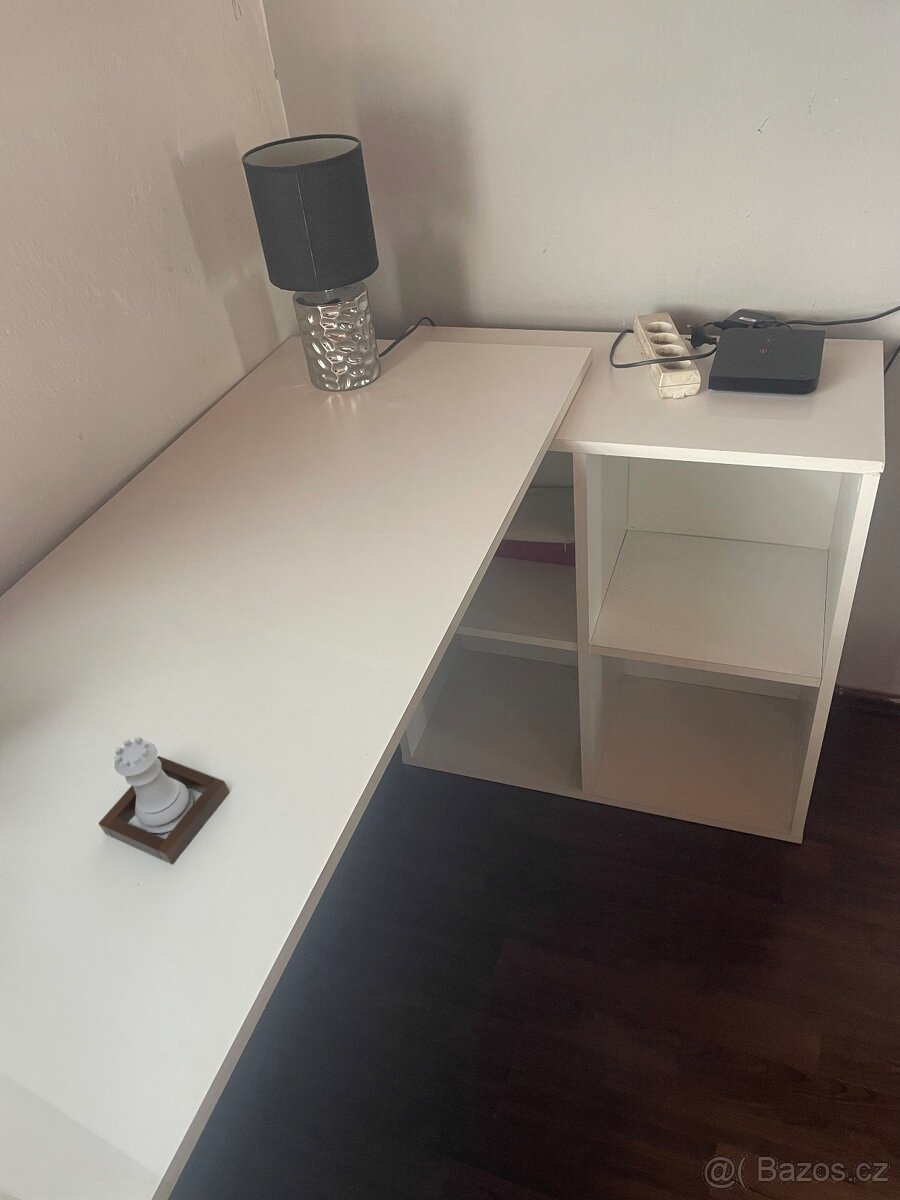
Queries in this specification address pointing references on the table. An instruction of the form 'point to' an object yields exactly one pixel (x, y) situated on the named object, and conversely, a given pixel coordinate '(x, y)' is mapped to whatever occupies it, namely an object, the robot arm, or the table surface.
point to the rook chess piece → (152, 787)
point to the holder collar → (186, 827)
